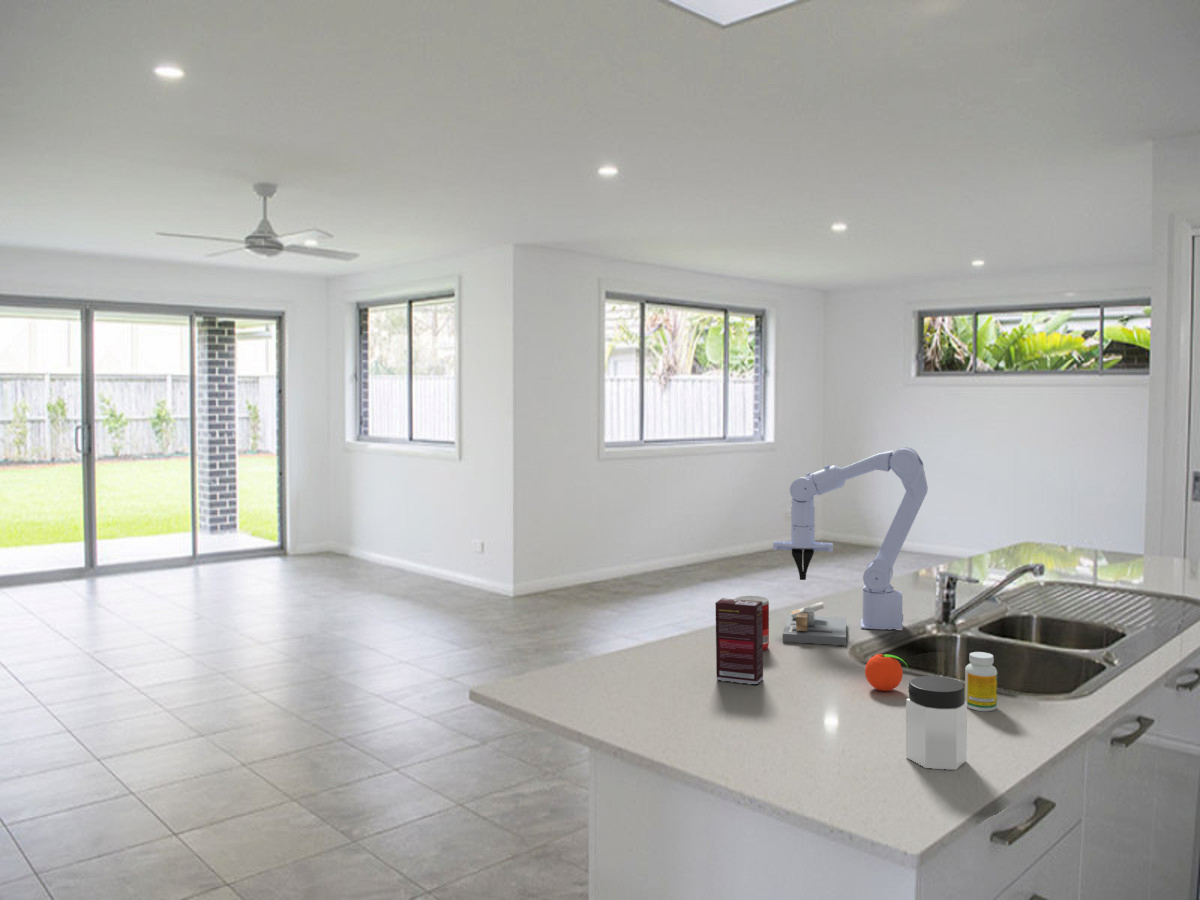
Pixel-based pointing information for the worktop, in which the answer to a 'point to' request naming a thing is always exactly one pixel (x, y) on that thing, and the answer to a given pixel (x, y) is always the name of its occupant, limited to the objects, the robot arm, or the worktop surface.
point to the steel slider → (810, 615)
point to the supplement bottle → (981, 682)
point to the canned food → (764, 616)
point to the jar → (936, 722)
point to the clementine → (884, 672)
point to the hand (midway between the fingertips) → (802, 579)
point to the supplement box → (739, 641)
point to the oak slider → (801, 621)
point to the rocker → (816, 606)
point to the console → (817, 631)
